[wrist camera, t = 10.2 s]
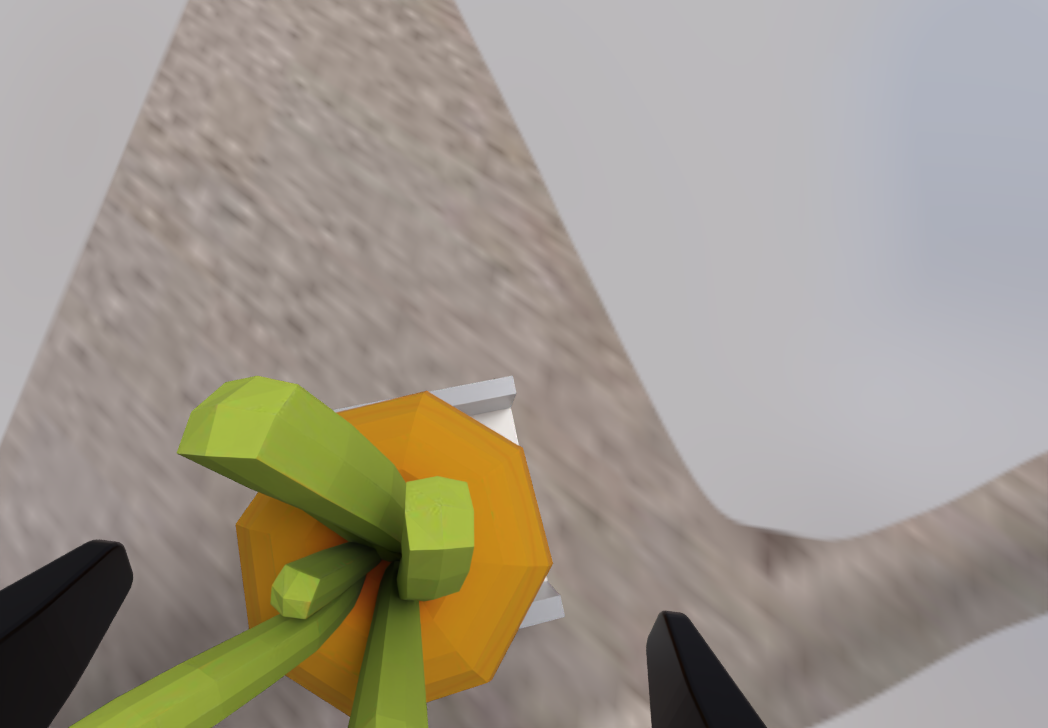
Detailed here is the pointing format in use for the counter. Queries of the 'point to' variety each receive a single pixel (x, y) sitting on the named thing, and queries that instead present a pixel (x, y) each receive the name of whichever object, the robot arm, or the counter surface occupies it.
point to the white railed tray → (494, 411)
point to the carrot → (357, 557)
